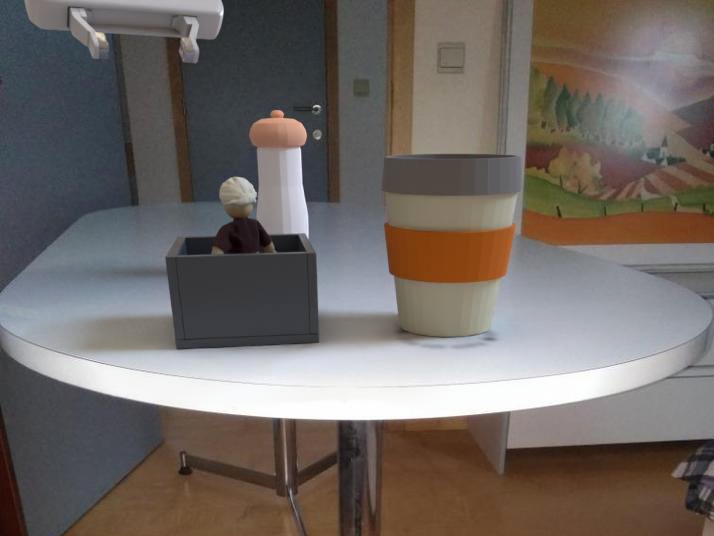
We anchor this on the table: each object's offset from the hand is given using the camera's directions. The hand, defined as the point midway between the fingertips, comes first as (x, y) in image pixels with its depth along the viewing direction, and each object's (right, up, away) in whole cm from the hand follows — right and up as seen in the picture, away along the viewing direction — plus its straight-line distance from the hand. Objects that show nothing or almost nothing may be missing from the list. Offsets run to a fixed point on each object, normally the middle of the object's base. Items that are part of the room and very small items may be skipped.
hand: (148, 55), depth 74 cm
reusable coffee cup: (+30, -29, -4) cm, 42 cm away
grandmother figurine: (+11, -29, -5) cm, 31 cm away
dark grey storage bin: (+11, -29, -5) cm, 32 cm away
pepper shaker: (+12, -16, +22) cm, 30 cm away
